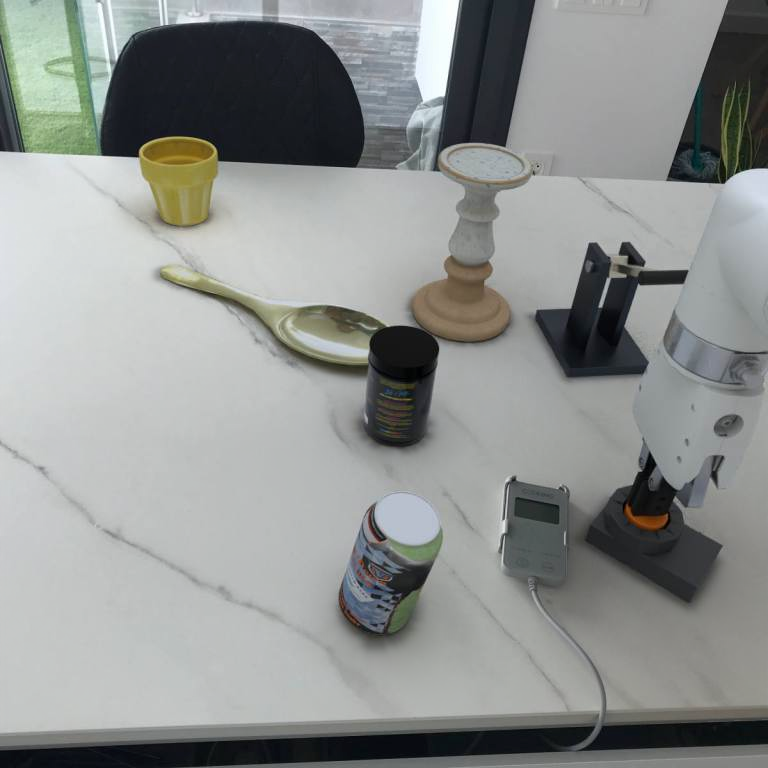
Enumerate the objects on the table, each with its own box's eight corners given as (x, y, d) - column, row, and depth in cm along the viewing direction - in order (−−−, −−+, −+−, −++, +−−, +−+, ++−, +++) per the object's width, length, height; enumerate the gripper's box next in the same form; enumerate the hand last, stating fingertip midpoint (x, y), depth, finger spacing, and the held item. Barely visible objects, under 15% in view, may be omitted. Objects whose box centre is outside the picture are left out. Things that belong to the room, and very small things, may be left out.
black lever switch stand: (647, 373, 91) (682, 279, 82) (567, 377, 89) (595, 281, 81) (608, 314, 100) (636, 225, 92) (534, 317, 98) (556, 226, 90)
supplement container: (434, 446, 78) (447, 365, 72) (369, 452, 77) (376, 370, 70) (419, 402, 83) (430, 323, 77) (357, 407, 82) (363, 327, 75)
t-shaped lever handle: (690, 289, 77) (692, 265, 76) (643, 291, 76) (645, 266, 75) (626, 274, 89) (628, 253, 89) (586, 275, 88) (587, 254, 88)
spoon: (135, 298, 97) (132, 284, 96) (193, 264, 105) (191, 250, 103) (373, 390, 83) (373, 374, 82) (420, 343, 91) (421, 328, 89)
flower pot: (178, 192, 117) (172, 129, 111) (235, 211, 114) (232, 146, 107) (131, 219, 109) (122, 153, 103) (191, 240, 106) (185, 172, 100)
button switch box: (715, 559, 70) (731, 530, 67) (688, 605, 66) (703, 576, 63) (614, 502, 74) (626, 473, 72) (583, 541, 70) (593, 512, 68)
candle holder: (505, 351, 92) (539, 193, 79) (403, 332, 93) (421, 175, 80) (512, 296, 101) (544, 148, 88) (420, 280, 103) (438, 132, 90)
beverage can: (336, 579, 65) (341, 480, 57) (422, 576, 66) (439, 479, 58) (339, 646, 60) (346, 548, 53) (432, 642, 61) (453, 545, 53)
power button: (668, 523, 69) (674, 510, 68) (651, 546, 67) (657, 533, 66) (631, 502, 71) (637, 489, 70) (614, 524, 69) (619, 511, 68)
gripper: (820, 410, 51) (722, 578, 63) (722, 286, 63) (654, 448, 74) (714, 411, 50) (634, 581, 62) (634, 285, 62) (579, 449, 73)
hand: (645, 508), depth 68 cm, fingers closed
